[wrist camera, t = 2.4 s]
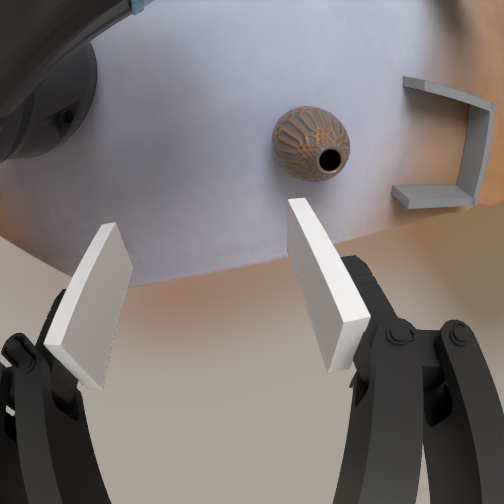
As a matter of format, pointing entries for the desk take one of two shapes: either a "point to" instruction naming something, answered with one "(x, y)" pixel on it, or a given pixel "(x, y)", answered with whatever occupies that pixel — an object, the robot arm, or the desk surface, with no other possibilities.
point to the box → (471, 160)
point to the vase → (311, 144)
